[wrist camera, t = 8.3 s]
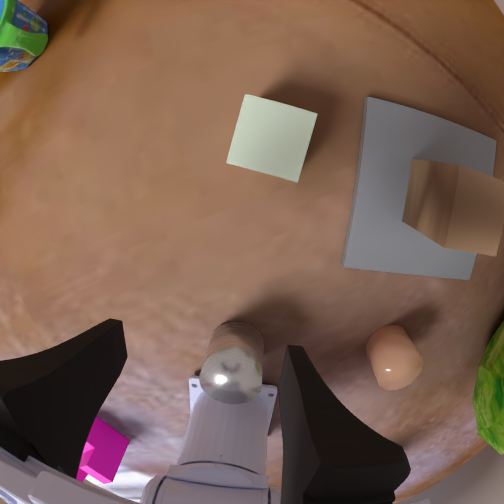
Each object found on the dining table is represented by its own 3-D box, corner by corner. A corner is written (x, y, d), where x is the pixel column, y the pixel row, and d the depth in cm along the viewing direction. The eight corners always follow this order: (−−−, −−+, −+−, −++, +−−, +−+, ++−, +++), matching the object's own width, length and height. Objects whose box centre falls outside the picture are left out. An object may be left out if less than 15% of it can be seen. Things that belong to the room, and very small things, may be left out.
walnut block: (449, 230, 19) (495, 256, 13) (401, 221, 19) (443, 247, 14) (459, 172, 18) (511, 183, 12) (411, 158, 18) (459, 164, 12)
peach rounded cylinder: (398, 361, 24) (412, 389, 20) (360, 360, 24) (370, 391, 20) (412, 325, 23) (430, 351, 19) (373, 323, 23) (387, 352, 19)
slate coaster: (464, 276, 21) (469, 280, 20) (340, 263, 21) (343, 267, 21) (490, 140, 17) (496, 140, 16) (364, 98, 17) (367, 96, 17)
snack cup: (85, 21, 16) (32, -7, 9) (41, 98, 18) (-21, 94, 11) (25, 3, 14) (-20, -13, 7) (-9, 66, 16) (-58, 62, 9)
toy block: (92, 411, 30) (68, 452, 23) (130, 439, 31) (112, 481, 24) (60, 434, 34) (42, 465, 27) (90, 456, 35) (75, 488, 28)
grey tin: (260, 365, 25) (258, 407, 20) (210, 359, 25) (199, 399, 20) (266, 324, 23) (265, 364, 19) (211, 317, 23) (198, 356, 19)
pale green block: (292, 176, 20) (297, 182, 16) (234, 160, 20) (226, 163, 16) (308, 121, 18) (317, 113, 15) (250, 105, 18) (245, 93, 14)
